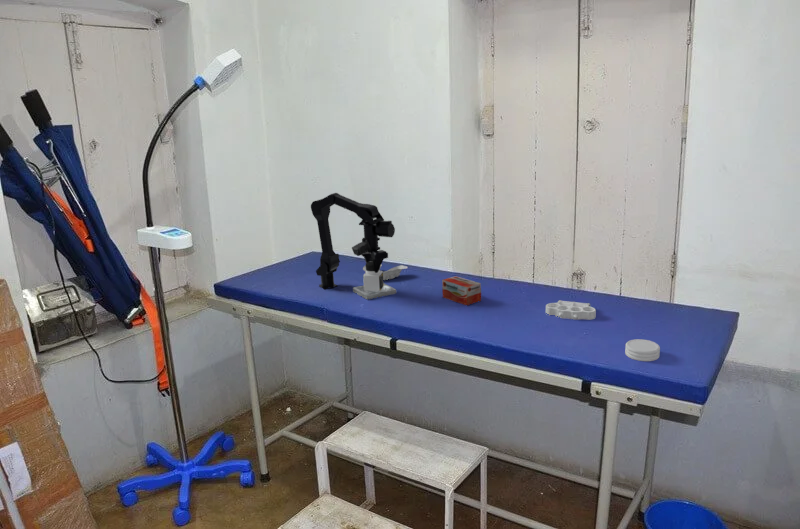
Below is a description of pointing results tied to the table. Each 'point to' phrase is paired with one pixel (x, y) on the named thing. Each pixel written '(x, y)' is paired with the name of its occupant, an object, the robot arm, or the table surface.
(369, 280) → the medicine bottle
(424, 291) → the table surface
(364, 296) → the tray
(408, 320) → the table surface
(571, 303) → the grey holed plate
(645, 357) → the white round container
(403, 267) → the dental model
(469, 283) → the medicine box
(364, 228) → the robot arm
